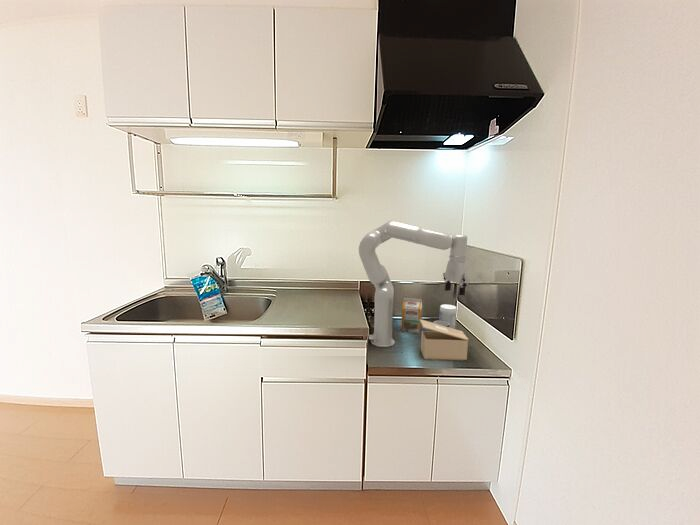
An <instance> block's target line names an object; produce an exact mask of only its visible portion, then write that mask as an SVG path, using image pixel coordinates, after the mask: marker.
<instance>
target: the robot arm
mask: <svg viewBox="0 0 700 525" xmlns="http://www.w3.org/2000/svg"><path fill="white" fill-rule="evenodd" d="M390 239H396V240H402V241H406V242H408V243H413V244H417V245H421V246H425V247H430V248H434V249H436V250H437V249H439V250H443V251H447V250H448V249H450V251H449V256H448V257H449V260H448V261H447V264H446V268H445V272H443V273H442V275H443V276H442V277H443V280H444V283H445V284H444V285H445V286H444V291H446V292H447V291H451V286H452V283H455V284H459V286H460V287H459V291H458V295H459V296H465V293H466V288H467V286H468V285H469V283H470V282H471V279H470V278H469V277H468V276H467V264H466V259H467V249H468V248H467V246H468V236H467V235H465V234H462V233H461V234H460V233H454V234H453V233H451V234H450V233H448V232H447V233H445V232H436V231H432V230H428V229H425V228H423V227H421V226H418V225H415V224H410V223H404V222H401V221H397V220H394V219H391V220H388V221H387V222H385V223H384V224H382V225H381V226H379V227H376V228H374V229H373V230H371V231H369V232H368V233H366V234H364V236H363V237H362V239H361V241H360V242H359V245H358V254H359V255H358V256H359V258H360V260H361V261H360V262H361V263H362V266H363V268H364V271H365V273H366V276H367V279H368V280H369V282H370V283H372V284H373V286H374V287H375V290H374V291H375V292H374V324H373V325H374V330H373V334H368V335H369V340H368V341H370V342H371V343H370V344H372V345H373V346H376V347H378V348H389V347H392V346H394V345H395V344H396V341H395V340H394V338H393V315H394V314H393V311H394V295H395V294H394V293H395V289H394V286H393V282H392V281H391V278H390V275H389V273H388V271H387V269H386V267H385V266H384V265H383V264H381V262H380V260H379V256H378V255H377V253H376V252H377V251H376V249H377V248H378V247H379V246H380V245H381V244H384V243H385V242H387V241H389V240H390Z"/></svg>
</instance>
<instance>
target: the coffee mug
mask: <svg viewBox="0 0 700 525" xmlns="http://www.w3.org/2000/svg"><path fill="white" fill-rule="evenodd" d="M432 323H435V324H439V325H442V326H446V327H449V325H450V323H448V322H446V321H439V320H434V321H433V322H432ZM434 332H436V331H434Z"/></svg>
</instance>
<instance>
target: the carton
mask: <svg viewBox="0 0 700 525" xmlns="http://www.w3.org/2000/svg"><path fill="white" fill-rule="evenodd" d="M420 334H421V339H420V352H421V354H422V357H423V359H424V360H434V361H435V360H438V361H464V360H465V361H467V360H468V347H469V339H468V340H464V339H461V338H457V337H454V336H450V335H447V334H443V333H440V332H434V331H433V330H429V331H427V330H425V331H424V330H421V333H420Z"/></svg>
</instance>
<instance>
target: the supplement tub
mask: <svg viewBox="0 0 700 525" xmlns="http://www.w3.org/2000/svg"><path fill="white" fill-rule="evenodd" d="M438 315H439V316H438V318H439V319H438V321H446V322H448V323H450V325H449V328H453V329H456V322H457V306H456V305H452V304H445V303H444V304H441V305H440V306H439V314H438Z"/></svg>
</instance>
